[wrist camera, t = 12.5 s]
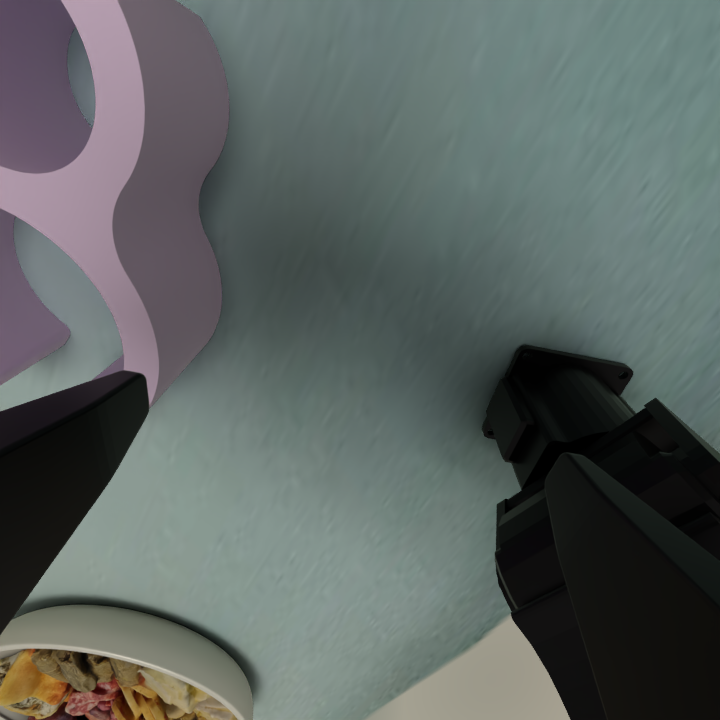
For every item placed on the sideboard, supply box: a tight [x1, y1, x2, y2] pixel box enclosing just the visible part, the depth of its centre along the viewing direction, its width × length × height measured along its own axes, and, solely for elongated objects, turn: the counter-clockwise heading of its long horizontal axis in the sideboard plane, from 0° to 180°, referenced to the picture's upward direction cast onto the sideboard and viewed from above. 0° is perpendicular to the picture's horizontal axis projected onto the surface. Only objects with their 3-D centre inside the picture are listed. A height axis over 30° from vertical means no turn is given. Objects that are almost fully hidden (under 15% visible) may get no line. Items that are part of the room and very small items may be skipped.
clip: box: [0, 0, 229, 409], centre depth 17 cm, size 20×12×7 cm, turn 154°
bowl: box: [0, 605, 253, 720], centre depth 42 cm, size 30×30×8 cm
